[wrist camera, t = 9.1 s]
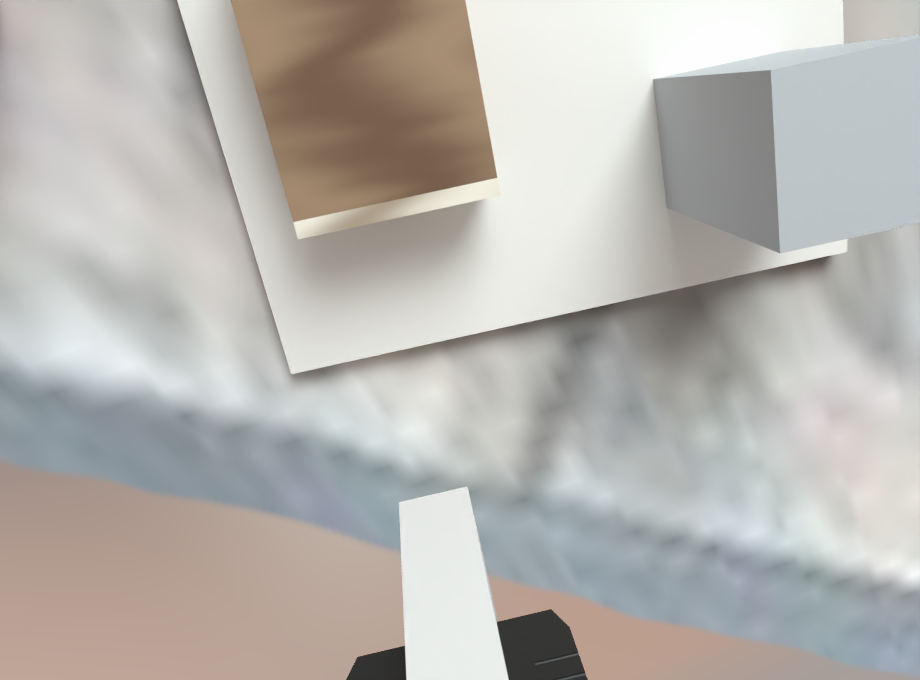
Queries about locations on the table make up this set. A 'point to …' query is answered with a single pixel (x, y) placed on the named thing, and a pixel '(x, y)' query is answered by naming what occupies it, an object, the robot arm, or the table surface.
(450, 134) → the walnut block
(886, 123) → the grey block
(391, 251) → the board
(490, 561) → the table surface
